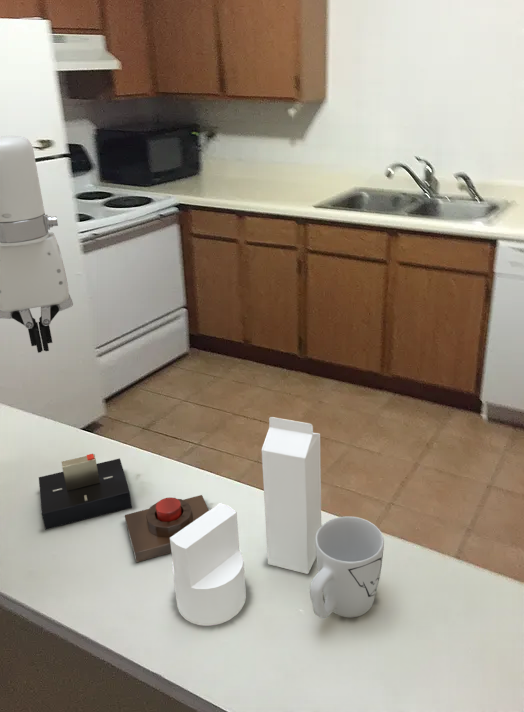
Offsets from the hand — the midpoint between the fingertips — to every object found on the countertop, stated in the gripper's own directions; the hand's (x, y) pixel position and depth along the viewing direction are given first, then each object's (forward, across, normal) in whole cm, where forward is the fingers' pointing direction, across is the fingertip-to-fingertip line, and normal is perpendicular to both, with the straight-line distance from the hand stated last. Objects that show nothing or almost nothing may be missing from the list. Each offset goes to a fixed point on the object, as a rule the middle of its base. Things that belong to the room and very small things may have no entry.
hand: (42, 348), depth 100 cm
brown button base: (+25, -13, +18) cm, 34 cm away
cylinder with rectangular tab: (+25, -15, +33) cm, 44 cm away
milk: (+25, -28, +30) cm, 48 cm away
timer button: (+22, -13, +18) cm, 31 cm away
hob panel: (+25, -2, +5) cm, 26 cm away
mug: (+25, -30, +41) cm, 57 cm away
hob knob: (+22, -2, +5) cm, 23 cm away
